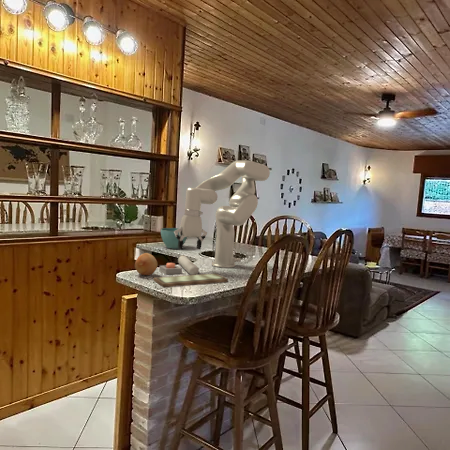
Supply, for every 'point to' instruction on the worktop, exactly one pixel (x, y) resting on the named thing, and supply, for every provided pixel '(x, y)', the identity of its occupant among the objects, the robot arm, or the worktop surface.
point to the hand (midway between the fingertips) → (189, 248)
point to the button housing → (170, 270)
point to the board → (189, 280)
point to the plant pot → (170, 238)
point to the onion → (146, 264)
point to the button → (170, 265)
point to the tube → (188, 265)
